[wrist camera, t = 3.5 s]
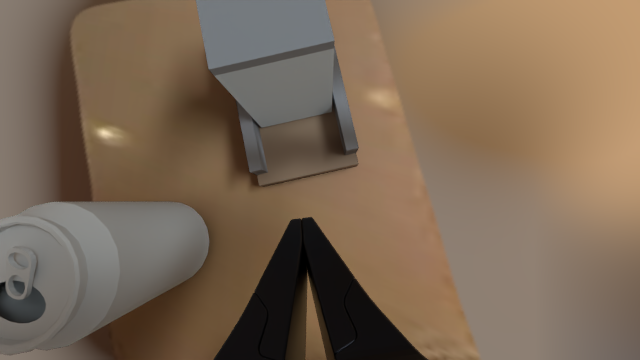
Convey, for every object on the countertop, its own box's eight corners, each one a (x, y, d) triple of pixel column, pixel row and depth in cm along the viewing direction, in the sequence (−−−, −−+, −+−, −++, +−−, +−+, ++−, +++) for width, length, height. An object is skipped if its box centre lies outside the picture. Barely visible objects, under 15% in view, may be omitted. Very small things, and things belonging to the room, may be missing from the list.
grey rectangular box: (331, 112, 22) (334, 40, 12) (261, 127, 22) (208, 69, 12) (317, 49, 22) (308, -67, 12) (249, 65, 22) (188, -38, 13)
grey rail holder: (356, 166, 23) (363, 157, 18) (263, 186, 23) (247, 183, 18) (320, 11, 24) (318, -31, 20) (233, 32, 24) (211, -6, 20)
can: (125, 269, 23) (-99, 345, 11) (150, 192, 23) (-37, 183, 11) (200, 292, 22) (52, 397, 10) (223, 213, 23) (110, 226, 11)
